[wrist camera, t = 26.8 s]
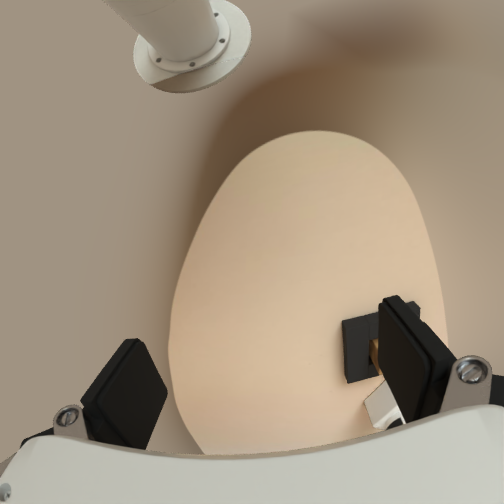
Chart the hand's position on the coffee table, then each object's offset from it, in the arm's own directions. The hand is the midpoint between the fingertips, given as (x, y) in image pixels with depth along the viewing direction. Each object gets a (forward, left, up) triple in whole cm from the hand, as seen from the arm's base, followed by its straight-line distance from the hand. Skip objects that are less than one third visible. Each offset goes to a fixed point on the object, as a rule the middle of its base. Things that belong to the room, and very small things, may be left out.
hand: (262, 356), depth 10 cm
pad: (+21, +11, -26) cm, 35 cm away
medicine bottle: (+35, +17, -26) cm, 47 cm away
